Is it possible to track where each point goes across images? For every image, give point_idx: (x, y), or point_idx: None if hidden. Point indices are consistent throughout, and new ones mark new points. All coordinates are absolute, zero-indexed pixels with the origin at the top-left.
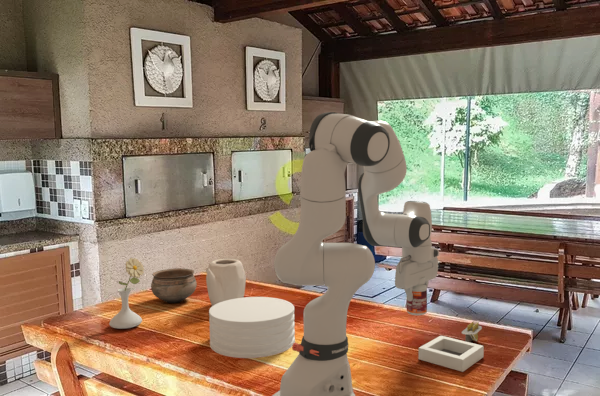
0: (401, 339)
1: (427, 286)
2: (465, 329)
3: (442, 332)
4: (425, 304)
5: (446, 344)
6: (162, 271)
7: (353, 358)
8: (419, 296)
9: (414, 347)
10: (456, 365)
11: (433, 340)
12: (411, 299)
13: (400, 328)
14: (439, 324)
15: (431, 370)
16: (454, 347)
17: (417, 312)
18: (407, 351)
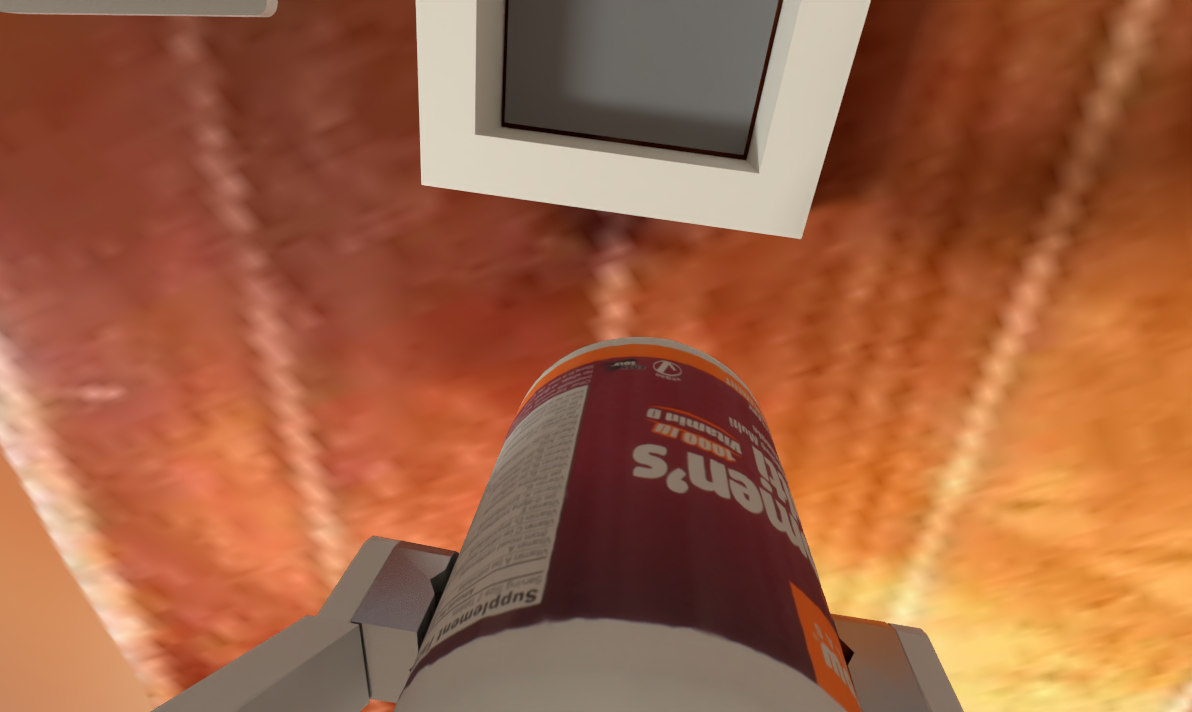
0: (506, 425)
1: (236, 663)
2: (179, 3)
3: (212, 255)
4: (662, 406)
5: (489, 102)
6: None
7: (933, 533)
8: (816, 599)
9: (585, 316)
10: None
11: (569, 194)
12: (931, 650)
13: (349, 484)
14: (105, 323)
15: (970, 42)
16: (494, 19)
17: (764, 423)
18: (678, 329)
